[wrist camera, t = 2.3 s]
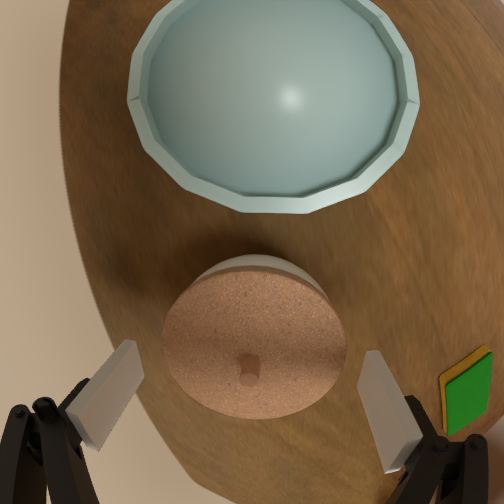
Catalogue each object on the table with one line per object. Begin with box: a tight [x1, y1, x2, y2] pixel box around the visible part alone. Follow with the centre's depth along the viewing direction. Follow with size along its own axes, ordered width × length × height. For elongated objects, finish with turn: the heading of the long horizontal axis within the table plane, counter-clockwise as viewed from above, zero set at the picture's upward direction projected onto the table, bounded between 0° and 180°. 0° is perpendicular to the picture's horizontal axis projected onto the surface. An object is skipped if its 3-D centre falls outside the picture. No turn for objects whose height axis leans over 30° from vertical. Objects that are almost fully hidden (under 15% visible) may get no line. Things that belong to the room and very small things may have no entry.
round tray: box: [127, 0, 420, 214], centre depth 16 cm, size 21×21×2 cm
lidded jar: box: [161, 254, 347, 419], centre depth 17 cm, size 11×11×9 cm
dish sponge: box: [439, 345, 493, 436], centre depth 23 cm, size 7×14×2 cm, turn 30°
